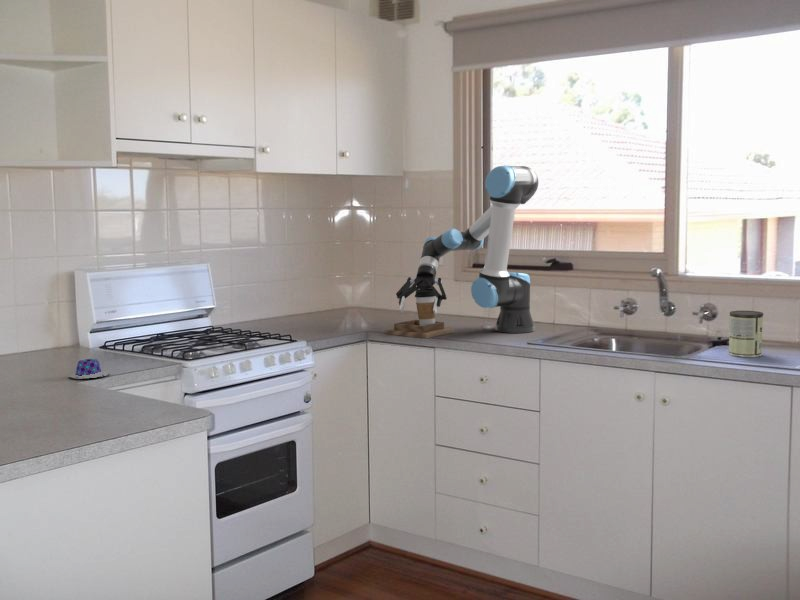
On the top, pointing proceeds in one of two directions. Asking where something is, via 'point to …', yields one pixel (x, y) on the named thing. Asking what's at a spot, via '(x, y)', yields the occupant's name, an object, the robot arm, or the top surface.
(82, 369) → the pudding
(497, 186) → the robot arm
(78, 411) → the top surface
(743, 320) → the coffee can
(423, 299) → the coffee cup
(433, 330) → the cup rack
